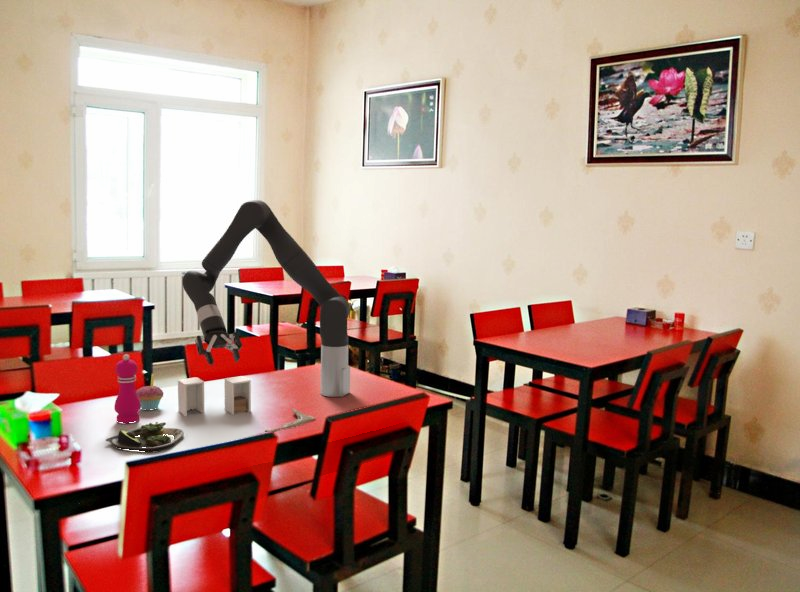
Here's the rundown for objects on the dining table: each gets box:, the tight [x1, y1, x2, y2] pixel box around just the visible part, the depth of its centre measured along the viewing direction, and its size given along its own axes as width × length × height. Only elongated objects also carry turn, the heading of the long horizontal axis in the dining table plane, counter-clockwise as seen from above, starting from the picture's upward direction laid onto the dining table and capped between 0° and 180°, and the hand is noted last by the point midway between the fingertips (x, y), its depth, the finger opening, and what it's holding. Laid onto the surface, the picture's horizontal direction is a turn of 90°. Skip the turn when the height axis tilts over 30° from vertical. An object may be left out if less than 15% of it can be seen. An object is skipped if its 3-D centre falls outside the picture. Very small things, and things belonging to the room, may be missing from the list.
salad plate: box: [105, 421, 185, 453], centre depth 189 cm, size 19×18×5 cm
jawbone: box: [264, 407, 316, 433], centre depth 204 cm, size 9×20×2 cm, turn 165°
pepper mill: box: [114, 354, 141, 423], centre depth 202 cm, size 7×7×20 cm
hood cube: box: [224, 375, 252, 416], centre depth 215 cm, size 6×6×10 cm
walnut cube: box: [234, 396, 247, 414], centre depth 216 cm, size 4×4×4 cm
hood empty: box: [177, 376, 205, 417], centre depth 212 cm, size 6×6×10 cm
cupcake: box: [135, 372, 164, 410], centre depth 215 cm, size 9×8×12 cm
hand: (225, 362), depth 222 cm, fingers open, 8 cm apart
